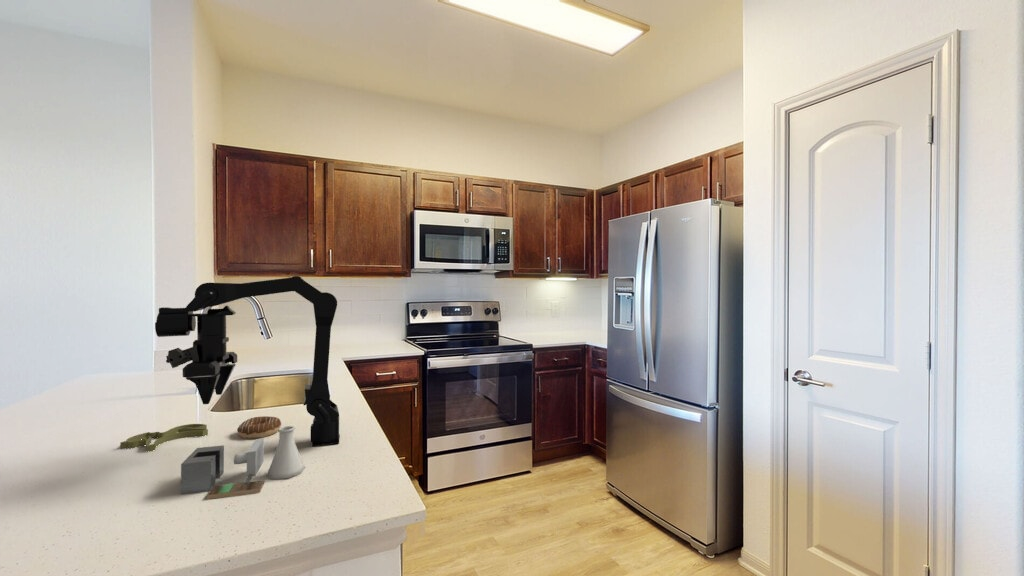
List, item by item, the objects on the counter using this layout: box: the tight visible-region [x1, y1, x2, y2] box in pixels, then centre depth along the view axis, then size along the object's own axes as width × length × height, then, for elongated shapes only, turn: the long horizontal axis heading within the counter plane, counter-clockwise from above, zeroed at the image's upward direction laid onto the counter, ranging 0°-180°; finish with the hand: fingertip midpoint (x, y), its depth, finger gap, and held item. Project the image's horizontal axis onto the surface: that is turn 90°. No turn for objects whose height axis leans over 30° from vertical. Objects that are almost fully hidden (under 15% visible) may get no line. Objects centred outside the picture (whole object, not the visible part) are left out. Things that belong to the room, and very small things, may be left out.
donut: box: [237, 415, 282, 439], centre depth 121 cm, size 11×11×4 cm
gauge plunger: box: [233, 438, 265, 485], centre depth 91 cm, size 5×12×5 cm, turn 20°
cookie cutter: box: [119, 423, 209, 453], centre depth 115 cm, size 18×12×2 cm, turn 154°
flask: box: [266, 425, 306, 480], centre depth 95 cm, size 7×7×10 cm
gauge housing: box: [180, 445, 265, 500], centre depth 90 cm, size 14×13×6 cm
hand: (212, 399), depth 104 cm, fingers open, 9 cm apart
